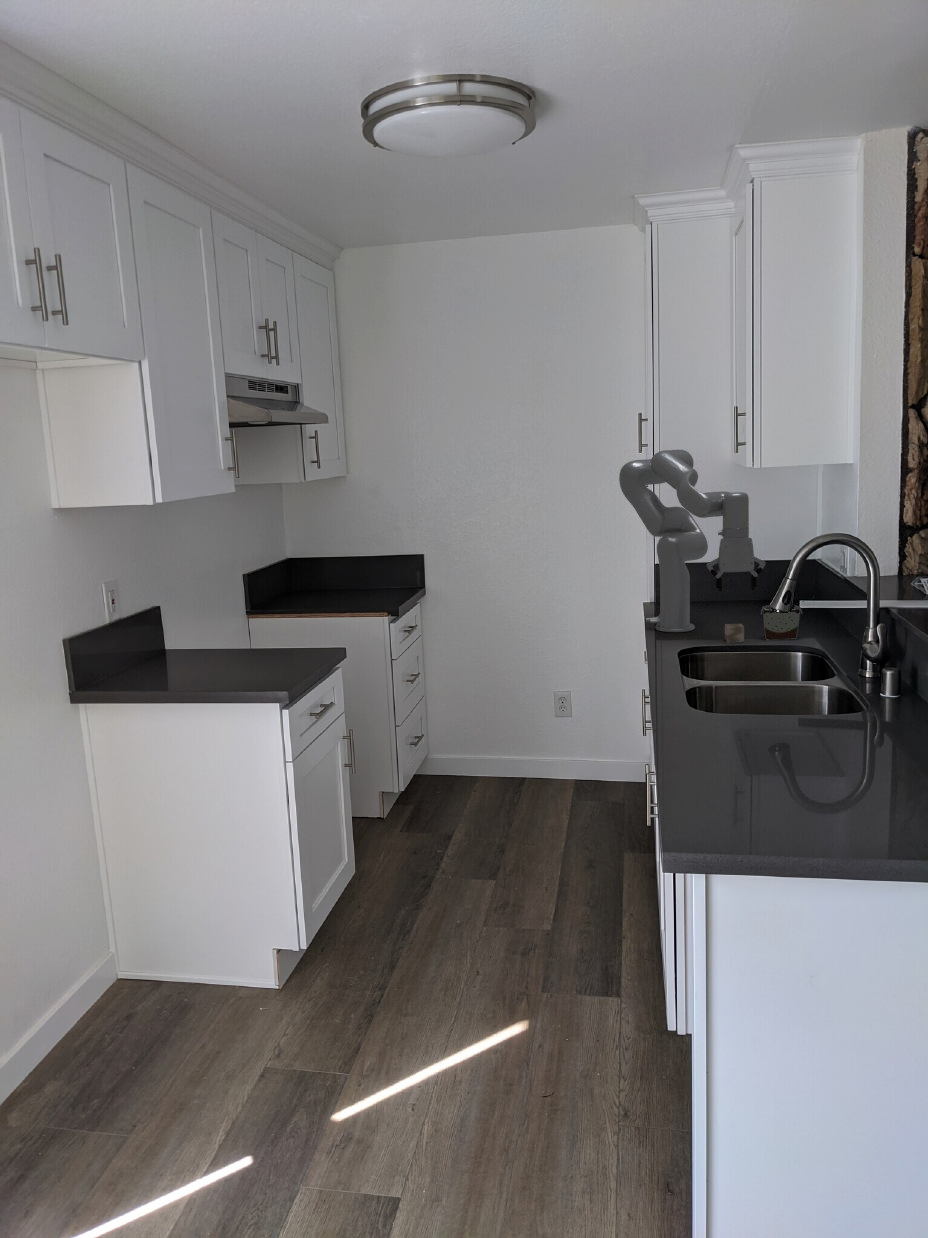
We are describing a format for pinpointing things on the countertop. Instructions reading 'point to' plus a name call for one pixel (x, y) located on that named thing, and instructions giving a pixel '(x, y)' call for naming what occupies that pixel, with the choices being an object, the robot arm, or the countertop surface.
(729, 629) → the maple block
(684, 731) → the countertop surface
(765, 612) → the food container
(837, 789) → the countertop surface
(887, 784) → the countertop surface
